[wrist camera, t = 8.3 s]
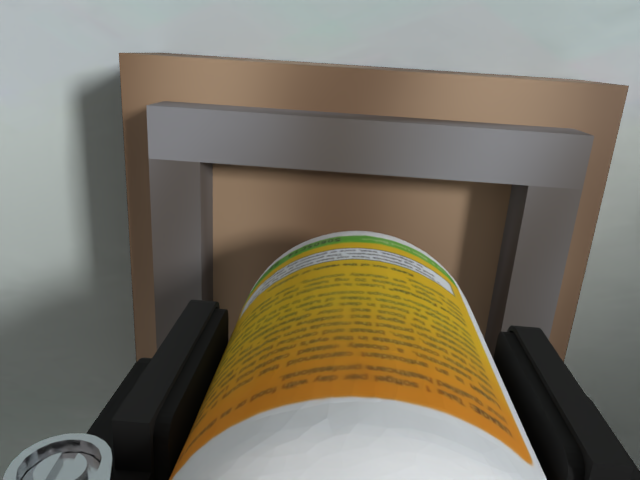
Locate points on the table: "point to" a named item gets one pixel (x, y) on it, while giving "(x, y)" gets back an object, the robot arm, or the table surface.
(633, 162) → the table surface
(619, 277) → the table surface
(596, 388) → the table surface
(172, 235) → the stand
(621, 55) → the table surface
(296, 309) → the supplement bottle
